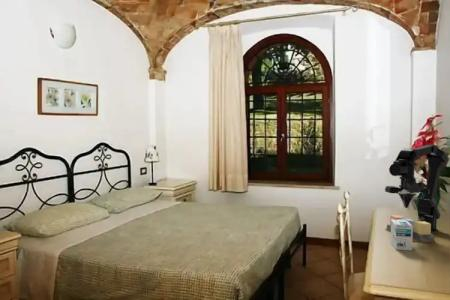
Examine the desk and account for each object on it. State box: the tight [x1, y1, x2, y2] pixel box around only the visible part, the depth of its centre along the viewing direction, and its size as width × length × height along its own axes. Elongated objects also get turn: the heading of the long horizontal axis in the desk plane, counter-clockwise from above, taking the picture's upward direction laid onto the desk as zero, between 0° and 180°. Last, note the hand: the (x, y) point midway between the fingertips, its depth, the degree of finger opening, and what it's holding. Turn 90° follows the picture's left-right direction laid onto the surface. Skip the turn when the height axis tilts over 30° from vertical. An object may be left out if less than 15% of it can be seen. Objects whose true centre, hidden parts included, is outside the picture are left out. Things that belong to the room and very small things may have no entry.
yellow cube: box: [414, 221, 432, 235], centre depth 175 cm, size 5×5×5 cm
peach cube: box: [389, 214, 406, 225], centre depth 188 cm, size 5×5×5 cm
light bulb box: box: [390, 219, 413, 251], centre depth 164 cm, size 11×7×11 cm, turn 168°
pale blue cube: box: [400, 218, 416, 231], centre depth 181 cm, size 5×5×5 cm
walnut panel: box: [385, 224, 435, 243], centre depth 182 cm, size 12×21×3 cm, turn 3°
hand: (406, 207), depth 183 cm, fingers closed
